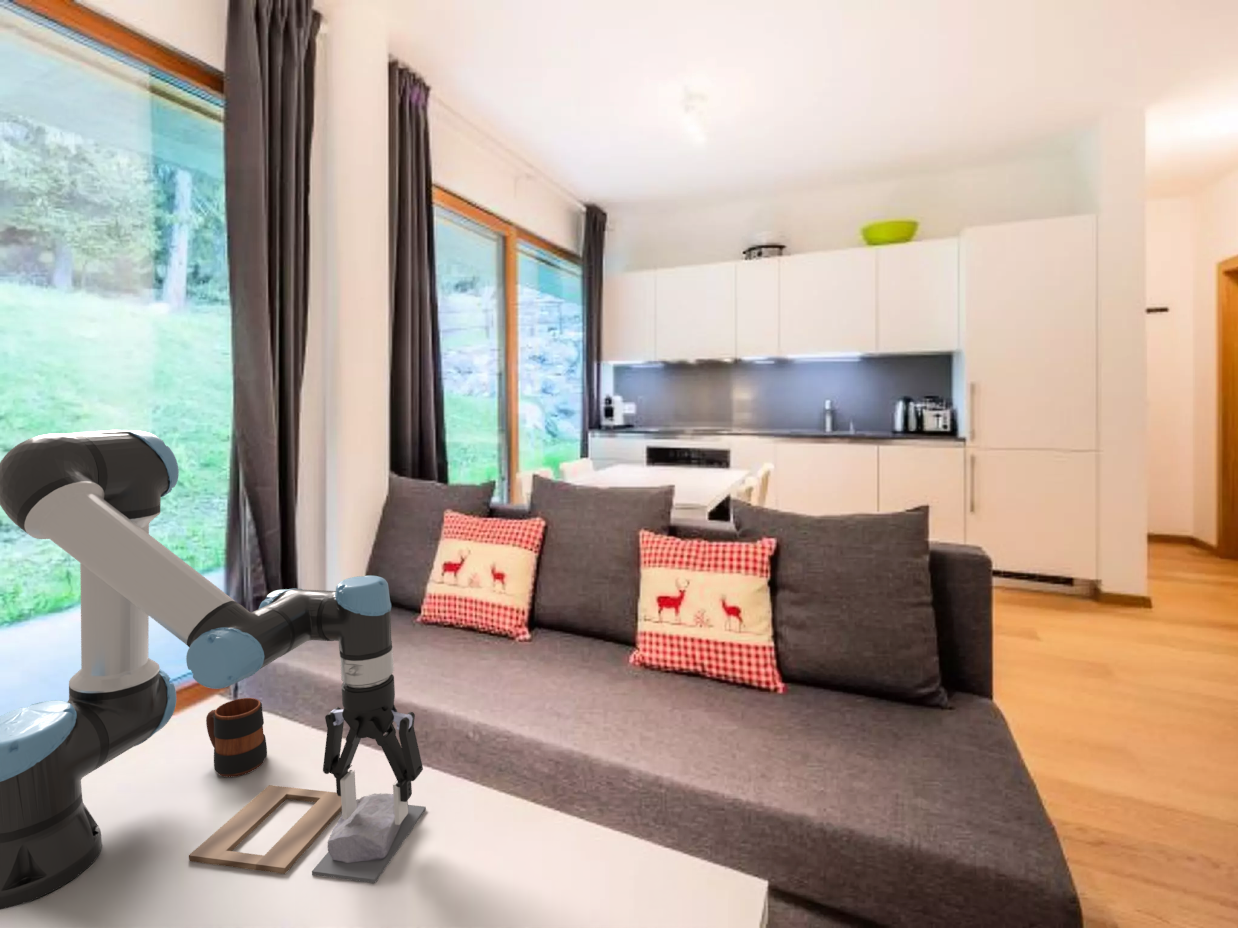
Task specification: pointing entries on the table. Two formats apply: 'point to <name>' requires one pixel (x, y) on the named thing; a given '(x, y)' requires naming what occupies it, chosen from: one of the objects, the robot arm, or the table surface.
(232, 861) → the pocket board
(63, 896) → the table surface
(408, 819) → the mat
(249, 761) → the mug
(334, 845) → the stone block
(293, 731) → the table surface
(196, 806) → the table surface
